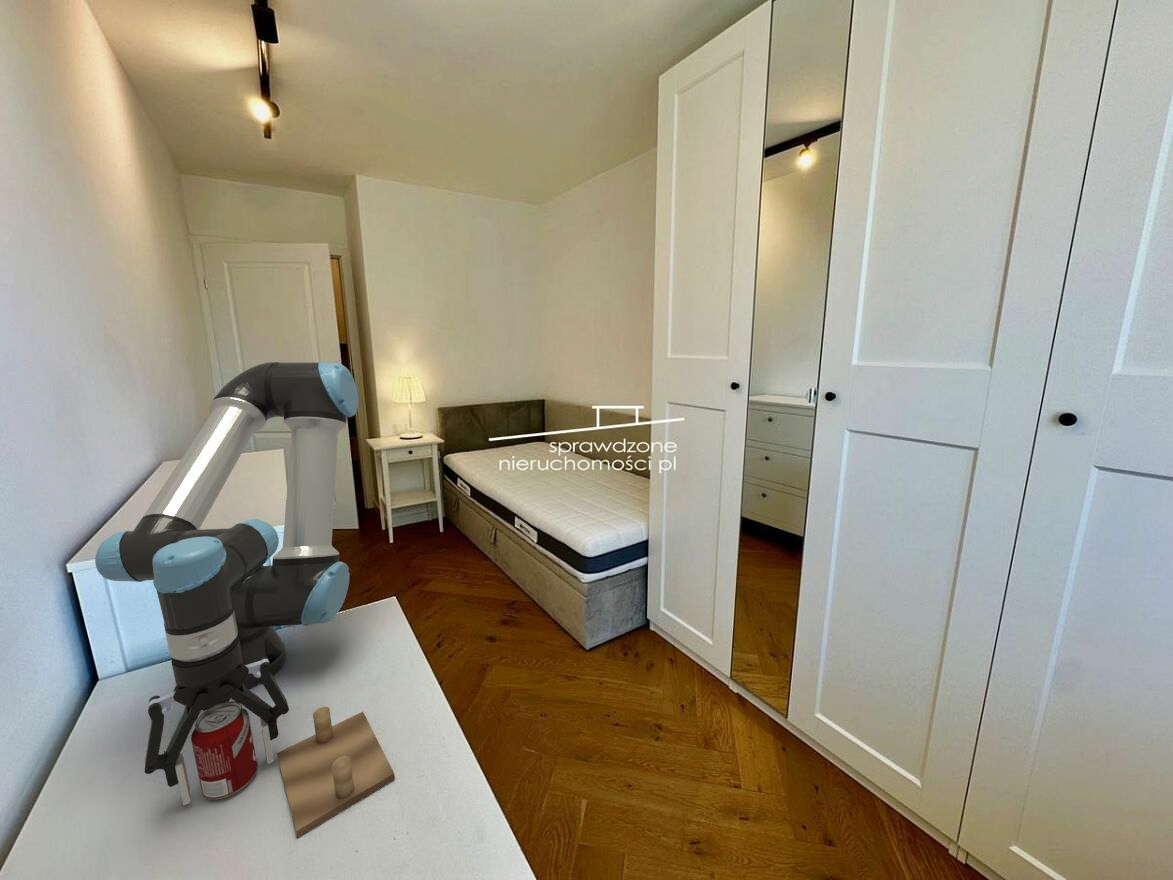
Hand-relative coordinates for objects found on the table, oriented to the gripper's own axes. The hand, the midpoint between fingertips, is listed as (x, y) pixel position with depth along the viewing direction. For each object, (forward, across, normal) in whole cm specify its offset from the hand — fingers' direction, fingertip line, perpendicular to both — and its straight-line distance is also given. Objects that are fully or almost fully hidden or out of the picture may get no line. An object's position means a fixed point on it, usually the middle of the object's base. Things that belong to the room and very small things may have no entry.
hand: (230, 776), depth 70 cm
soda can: (+1, 0, 0) cm, 1 cm away
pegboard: (+1, +12, -8) cm, 15 cm away
